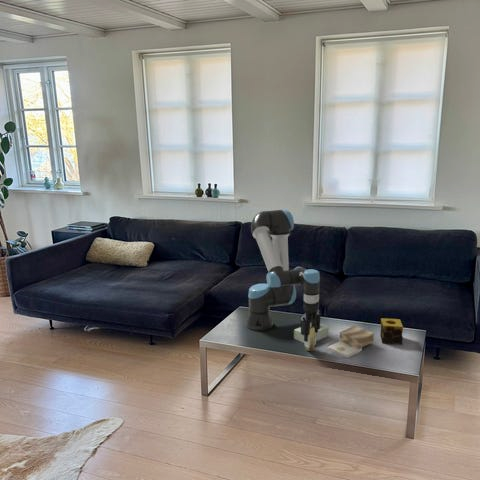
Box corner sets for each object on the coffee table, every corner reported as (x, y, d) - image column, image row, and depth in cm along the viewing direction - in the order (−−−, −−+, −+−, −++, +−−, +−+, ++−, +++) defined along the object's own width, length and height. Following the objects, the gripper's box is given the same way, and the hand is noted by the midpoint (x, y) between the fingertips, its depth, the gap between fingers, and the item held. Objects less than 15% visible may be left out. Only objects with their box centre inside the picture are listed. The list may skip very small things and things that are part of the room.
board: (327, 349, 227) (327, 346, 227) (342, 342, 235) (342, 339, 234) (346, 358, 218) (346, 355, 218) (361, 350, 225) (362, 347, 225)
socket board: (294, 338, 240) (294, 329, 239) (314, 329, 250) (314, 321, 249) (308, 344, 233) (308, 335, 232) (328, 335, 243) (328, 327, 242)
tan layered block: (339, 341, 233) (339, 332, 232) (353, 334, 240) (354, 325, 239) (359, 349, 224) (359, 340, 223) (373, 341, 231) (373, 333, 230)
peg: (304, 349, 227) (304, 326, 224) (309, 346, 229) (310, 324, 227) (310, 351, 224) (310, 329, 221) (315, 349, 226) (316, 327, 224)
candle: (402, 345, 230) (403, 327, 228) (381, 343, 232) (382, 325, 230) (399, 336, 240) (401, 319, 238) (379, 335, 242) (380, 317, 240)
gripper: (304, 308, 213) (304, 353, 218) (328, 299, 223) (327, 342, 229) (293, 303, 218) (292, 348, 224) (316, 295, 229) (315, 337, 234)
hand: (310, 345), depth 226 cm, fingers closed on peg, 4 cm apart
